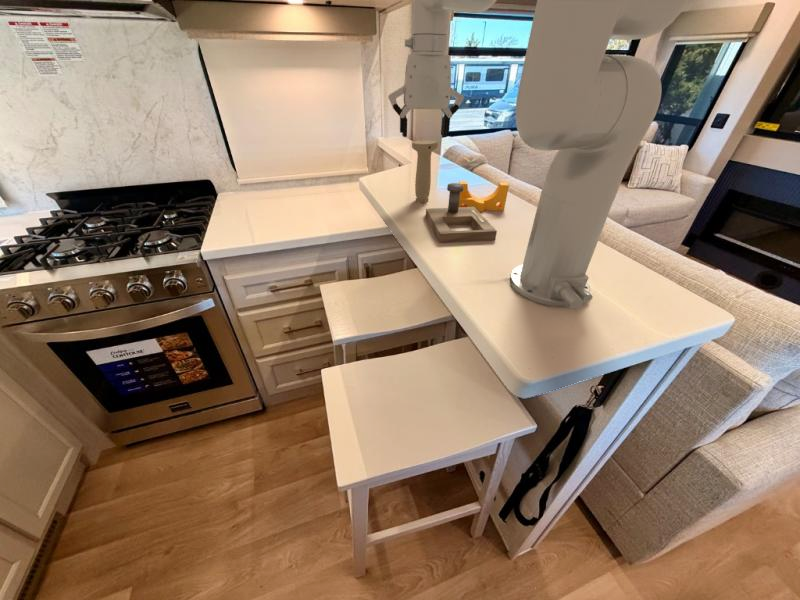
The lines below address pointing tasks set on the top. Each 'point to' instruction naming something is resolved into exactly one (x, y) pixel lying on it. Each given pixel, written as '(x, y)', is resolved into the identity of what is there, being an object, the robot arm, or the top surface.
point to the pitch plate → (459, 220)
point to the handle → (423, 168)
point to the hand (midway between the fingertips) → (424, 136)
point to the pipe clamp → (485, 202)
